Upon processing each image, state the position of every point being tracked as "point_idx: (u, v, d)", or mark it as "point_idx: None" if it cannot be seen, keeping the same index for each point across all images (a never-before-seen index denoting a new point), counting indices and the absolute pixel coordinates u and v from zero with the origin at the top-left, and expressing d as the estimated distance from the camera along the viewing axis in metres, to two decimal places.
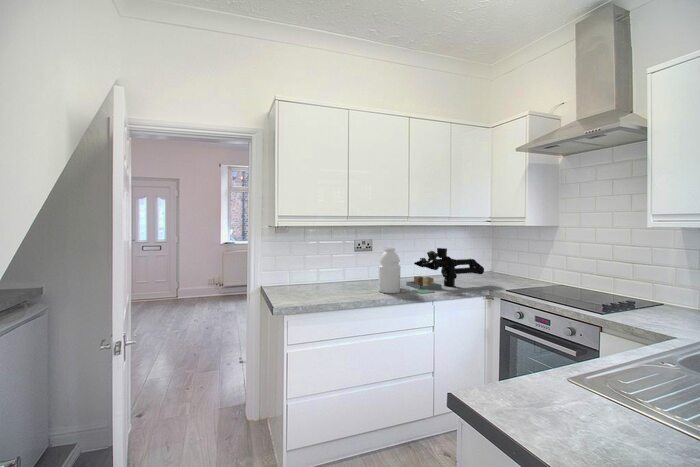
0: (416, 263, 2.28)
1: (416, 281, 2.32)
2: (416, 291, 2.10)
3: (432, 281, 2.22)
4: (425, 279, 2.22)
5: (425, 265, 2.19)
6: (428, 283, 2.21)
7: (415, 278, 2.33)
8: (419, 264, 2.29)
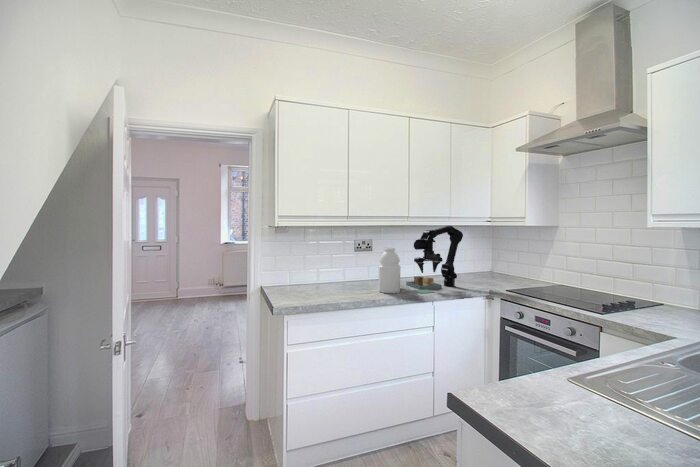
0: None
1: (416, 281, 2.32)
2: (416, 291, 2.10)
3: (432, 281, 2.22)
4: (425, 279, 2.22)
5: None
6: (428, 283, 2.21)
7: (415, 278, 2.33)
8: None
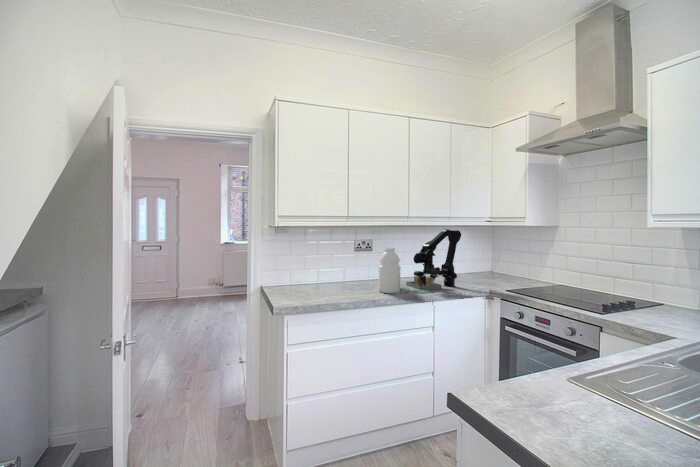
0: None
1: (416, 281, 2.32)
2: (416, 291, 2.10)
3: (432, 281, 2.22)
4: None
5: None
6: (428, 283, 2.21)
7: (415, 278, 2.33)
8: None
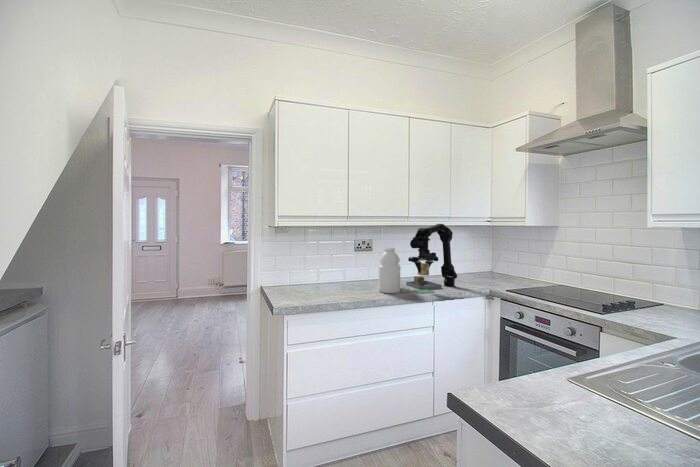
0: None
1: (416, 281, 2.32)
2: (416, 291, 2.10)
3: (427, 267, 2.10)
4: None
5: None
6: (423, 269, 2.09)
7: (415, 278, 2.33)
8: None
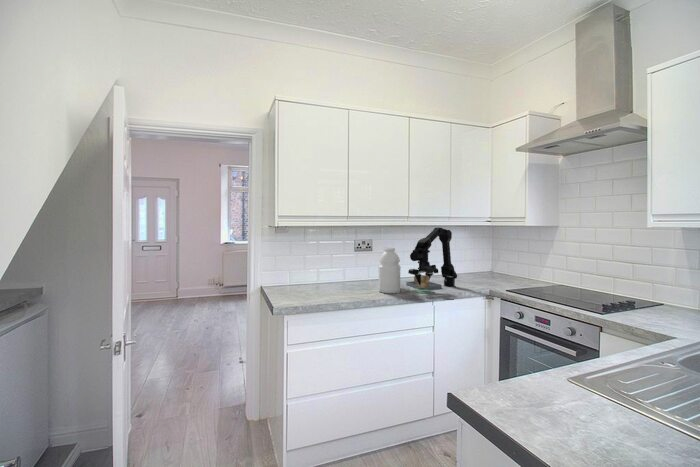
0: None
1: (416, 281, 2.32)
2: (416, 291, 2.10)
3: (427, 279, 2.10)
4: None
5: None
6: (423, 281, 2.09)
7: (415, 278, 2.33)
8: None
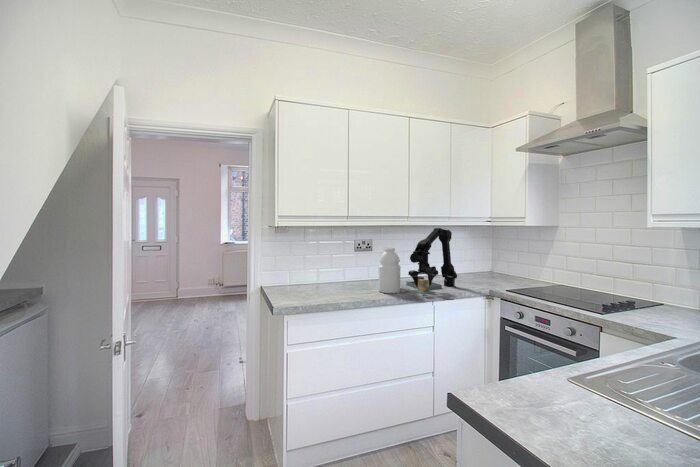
0: None
1: None
2: (416, 291, 2.10)
3: (427, 283, 2.10)
4: (420, 281, 2.10)
5: None
6: (423, 286, 2.09)
7: None
8: None
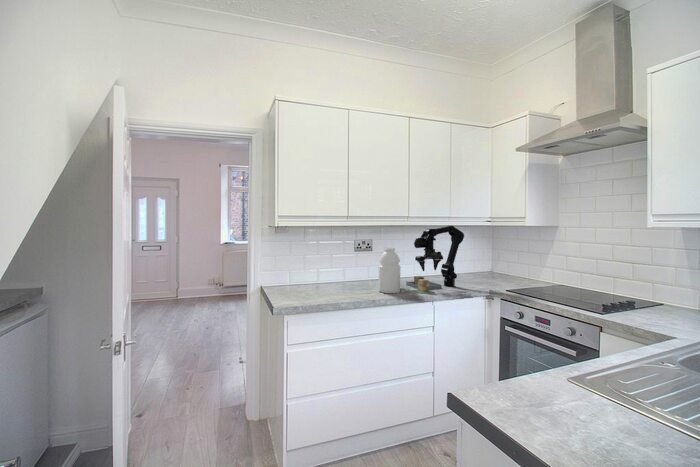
0: None
1: (416, 281, 2.32)
2: (416, 291, 2.10)
3: (427, 283, 2.10)
4: (420, 281, 2.10)
5: None
6: (423, 286, 2.09)
7: (415, 278, 2.33)
8: None
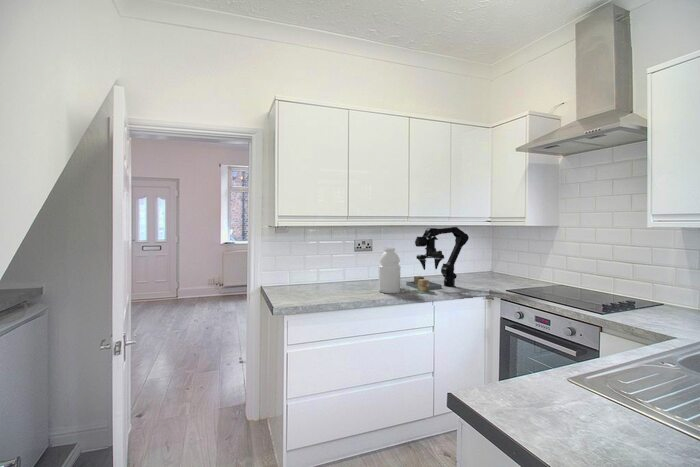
0: None
1: (416, 281, 2.32)
2: (416, 291, 2.10)
3: (427, 283, 2.10)
4: (420, 281, 2.10)
5: None
6: (423, 286, 2.09)
7: (415, 278, 2.33)
8: None
